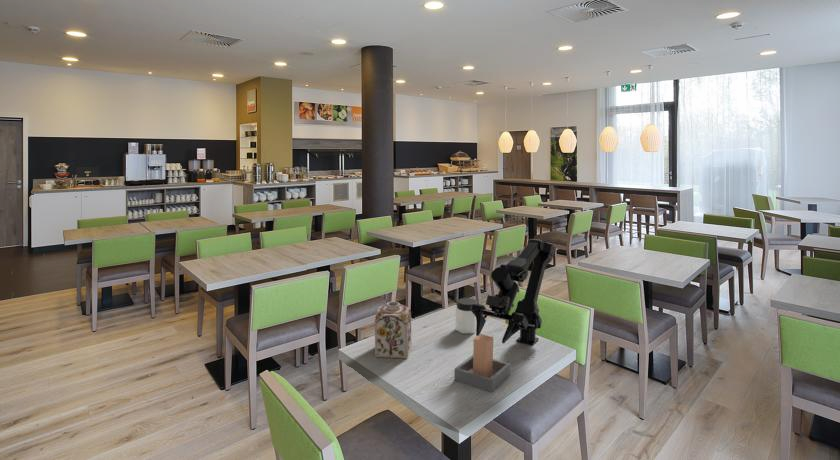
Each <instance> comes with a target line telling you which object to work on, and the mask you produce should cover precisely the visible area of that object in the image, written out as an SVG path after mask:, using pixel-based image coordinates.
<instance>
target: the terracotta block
mask: <svg viewBox="0 0 840 460" xmlns="http://www.w3.org/2000/svg"><path fill="white" fill-rule="evenodd" d="M472 351H473V352H472V353H473V354H472V355H473V373H476V374H479V375H482V376H485V377H490V376H491V375H492V369H493V359H494V336H489V335H485V334H482V333H480V335H479V336H477V335H476V336H475V337H474V338H473V350H472Z"/></svg>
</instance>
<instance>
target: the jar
mask: <svg viewBox="0 0 840 460" xmlns="http://www.w3.org/2000/svg"><path fill="white" fill-rule="evenodd" d="M474 303H476V304H478V301H477V300H476V299H474V298H468V297H464V298H459V299H457V300H456V307H455V331H456V332H458V333H461V334H463V335H464V334H465V335H466V334H475V333H476V327H477V321H476V316H475V315H474V314H473V313H472V311H471V310H470V309H471V306H472V305H473V304H474Z"/></svg>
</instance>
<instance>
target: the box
mask: <svg viewBox="0 0 840 460" xmlns="http://www.w3.org/2000/svg"><path fill="white" fill-rule="evenodd" d="M509 376H511V363H509V362H505V361H502V360H498V359H494V358H493V369H492V375H491V376H490V377H485V376H482V375H479V374H476V373H473V354H472V355H471V356H469V357H468V358H466V359H465V360H463V362H462V363H459V364H458V365H457V366H456V367H455V368H454V381H457V382H460V383H462V384H465V385H469V386H472V387H475V388H479V389H480V390H481V389H482V390H484V391H487V392H490V393H493V392H494V391H495V390H496V389H498V387H499V386H500V385H501V384H503V382H504V381H505V380H506V379H507V378H508V377H509Z"/></svg>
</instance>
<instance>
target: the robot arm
mask: <svg viewBox="0 0 840 460" xmlns="http://www.w3.org/2000/svg"><path fill="white" fill-rule="evenodd" d="M555 254H556V247H555V245H553V243H550V242H546V241H544V240H542V239H536V238H530V239H528V241H527V244H526V245H525V247H524V248H523V250H522V251H521V252H520V254H519V255H518V256H517V258H515V259H511V260H510V261H509V262H507V264H500V266H498V267H496V268H494V269H493V270H492V271H491V274H490V277H491V280H492V281H493V282H494V283H493V284H495V286H496V287H497V289H498V293H496V294H494V295H489V294H487V297H486V302H485V305H486V306H488V308H489V309H487V308H486V306H485V305H484V304H481V303H477V304H476V303H474V304H473V305H472V306H471V309H470V310H471V311H472V313H473V314H474V315H475V316H476V321H477V327H476V332H475V333H476V335H475V336H476V337H477V336H479V335H480V334H482V333H481V332H482V330H483V328H484V326H485V325H486V322H487V320H486V319H487V317H492V318H495V319H498V320H499V319H501V320H504V321H508V324H507V327H506V330H505V332H504V334H503V337H502V341H501V343H502V344H505V343H506V342H507V341H508V340H509V339H511V337H512V336H513V335H515V334H516V333H517V332H518V331H519V337H518V338H516V342H519V343H522V344H527V345H530V346H533V345H534V344H535V343H537V342H538V340H539V337H536V335H537V334H536V331H537V330H538V329H540V328H542V322H543V319H542V317H541V315H540V314H539V313H540V309H539V306H538V303H537V301H538V298H539V294H540V290H541V286H542V282H543V279H544V275H545V272H546V268H547V266H548V265H549V264H550V263H551V262H552V260H553V258H554V256H555ZM531 264H532V267H531V271H530V275H529V273H528V272H529V271H528V268H529V267H530V265H531ZM528 277H529V279H528ZM526 279H528V282H527V285H526V289H525V294H524V296H523V297H524V298H522V299H521V300H518V302H517V303H516V304H517V305H516V309H514V311H513V312H511V310H512V308H514V306H515V304H514V301H515V299H516V296H517V293H519V292H520V287H519V284H517V282H519V283H524V281H525V280H526ZM490 309H491V310H490ZM510 312H511V314H510Z"/></svg>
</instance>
